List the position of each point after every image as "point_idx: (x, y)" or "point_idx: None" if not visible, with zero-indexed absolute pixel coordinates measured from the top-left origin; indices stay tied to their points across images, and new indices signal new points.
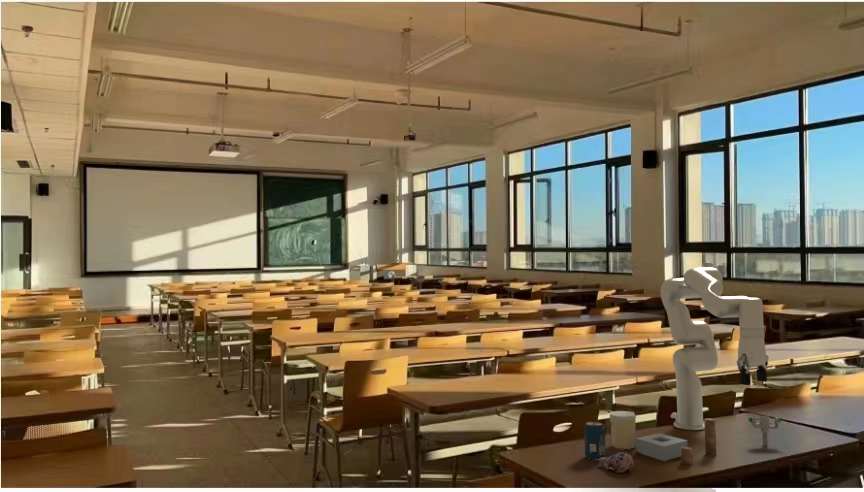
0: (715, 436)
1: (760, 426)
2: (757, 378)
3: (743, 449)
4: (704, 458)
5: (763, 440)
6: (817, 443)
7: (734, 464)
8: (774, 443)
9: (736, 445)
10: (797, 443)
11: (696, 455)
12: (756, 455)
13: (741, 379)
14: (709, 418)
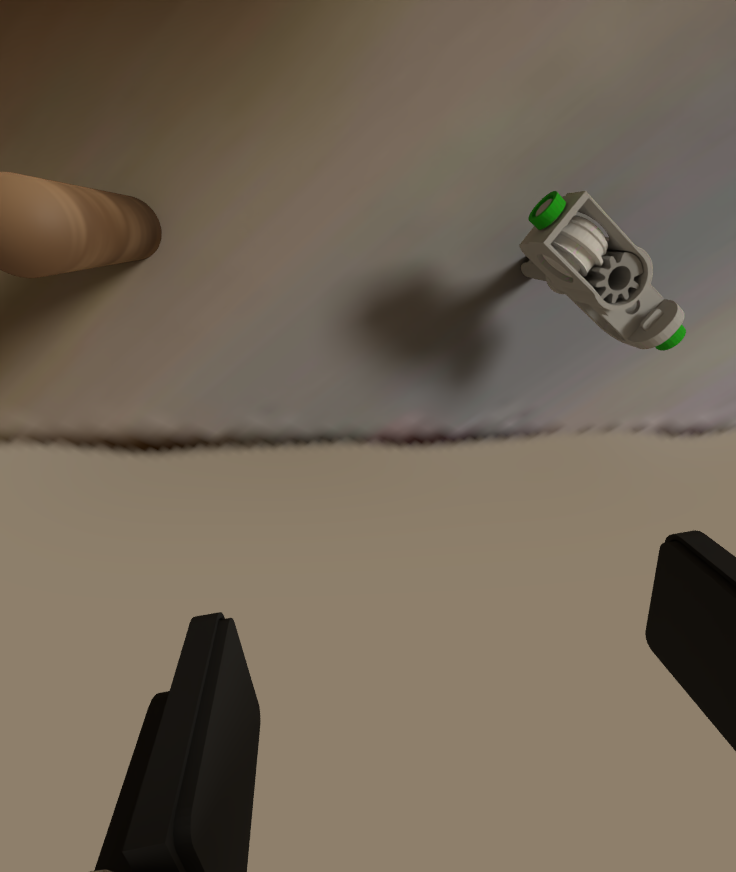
0: (107, 263)
1: (548, 274)
2: (684, 564)
3: (367, 260)
4: None
5: (532, 264)
6: (724, 376)
7: (126, 412)
8: None
9: (401, 180)
10: None
11: None
12: (334, 367)
13: (175, 695)
14: (45, 191)
